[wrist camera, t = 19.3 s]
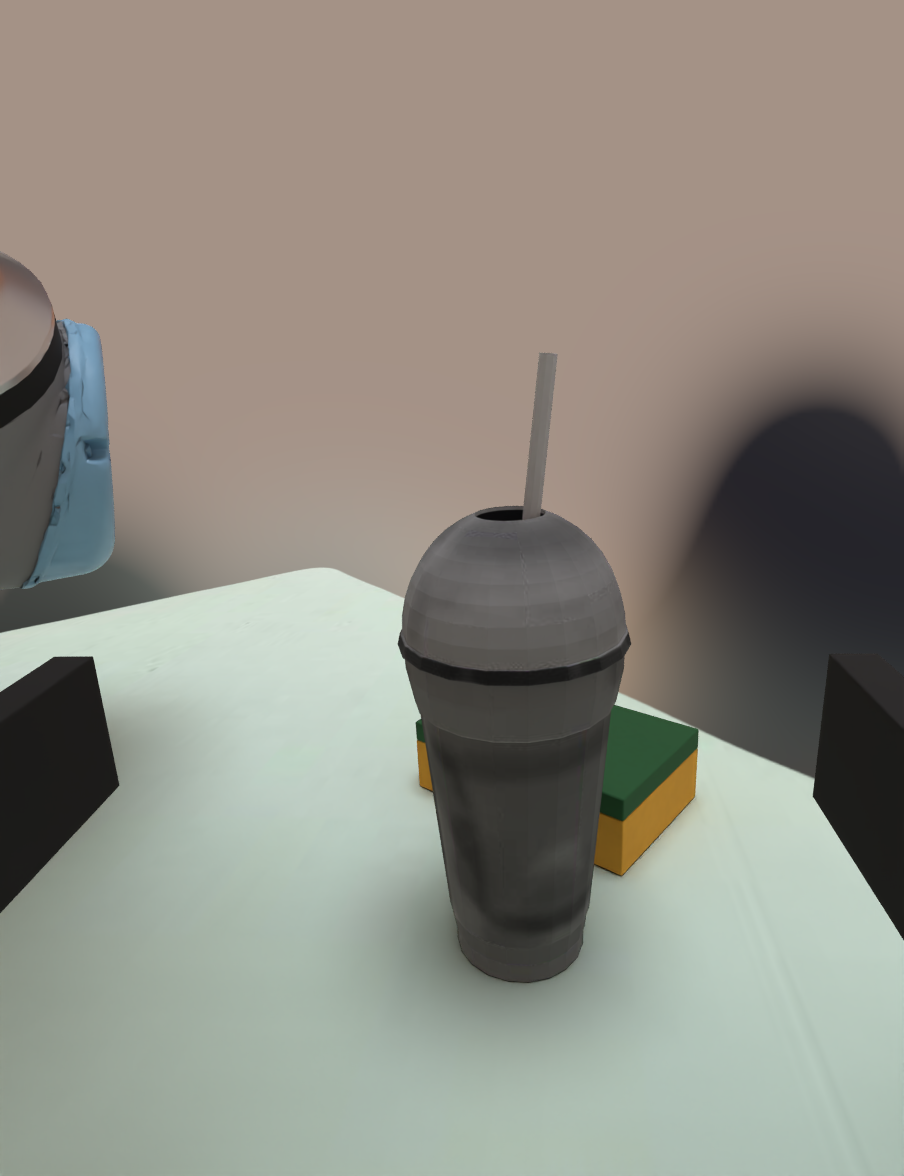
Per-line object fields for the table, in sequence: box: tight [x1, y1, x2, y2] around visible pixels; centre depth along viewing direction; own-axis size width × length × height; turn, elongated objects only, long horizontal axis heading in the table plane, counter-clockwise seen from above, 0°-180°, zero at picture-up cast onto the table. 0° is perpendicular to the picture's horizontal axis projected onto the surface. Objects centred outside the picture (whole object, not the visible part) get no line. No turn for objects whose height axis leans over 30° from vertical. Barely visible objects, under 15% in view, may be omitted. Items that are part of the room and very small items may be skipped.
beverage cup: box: [398, 353, 631, 982], centre depth 24 cm, size 7×7×20 cm
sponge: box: [416, 705, 699, 876], centre depth 35 cm, size 11×7×4 cm, turn 49°
